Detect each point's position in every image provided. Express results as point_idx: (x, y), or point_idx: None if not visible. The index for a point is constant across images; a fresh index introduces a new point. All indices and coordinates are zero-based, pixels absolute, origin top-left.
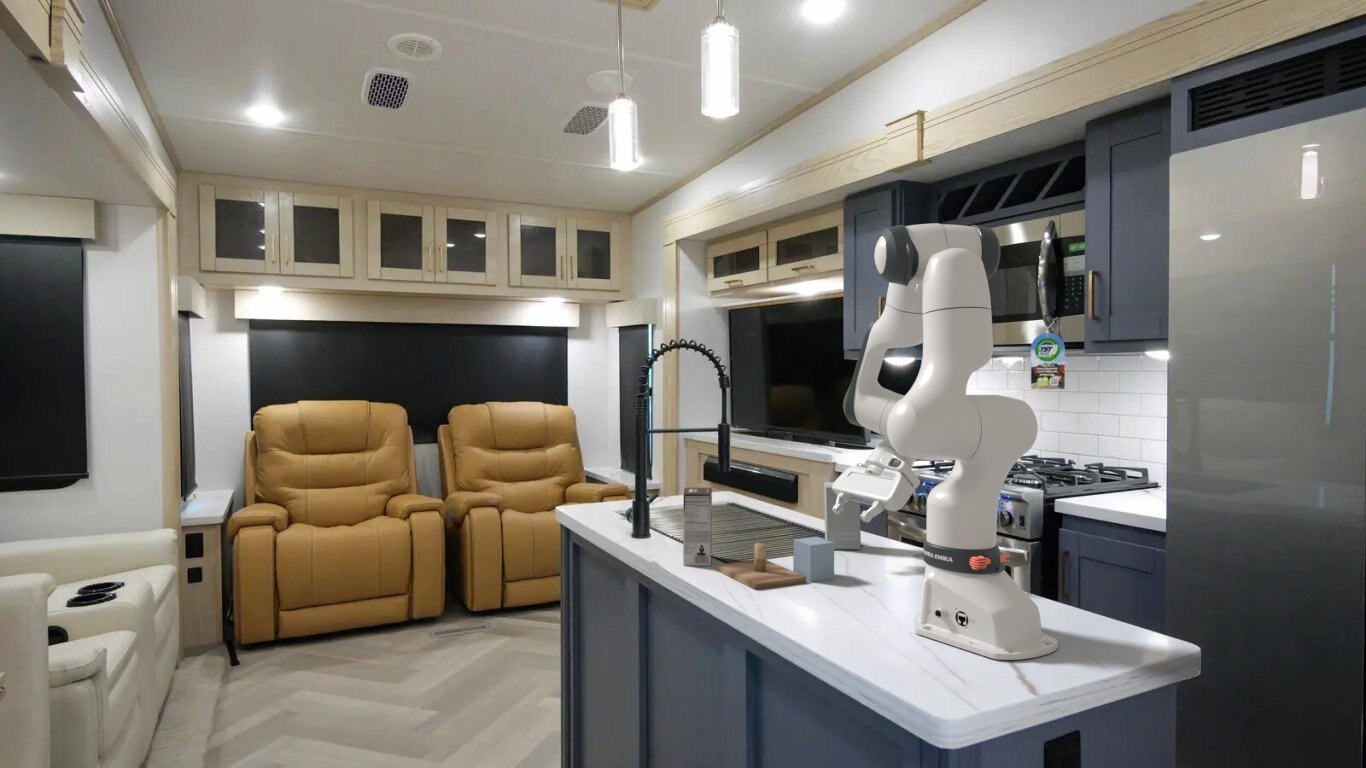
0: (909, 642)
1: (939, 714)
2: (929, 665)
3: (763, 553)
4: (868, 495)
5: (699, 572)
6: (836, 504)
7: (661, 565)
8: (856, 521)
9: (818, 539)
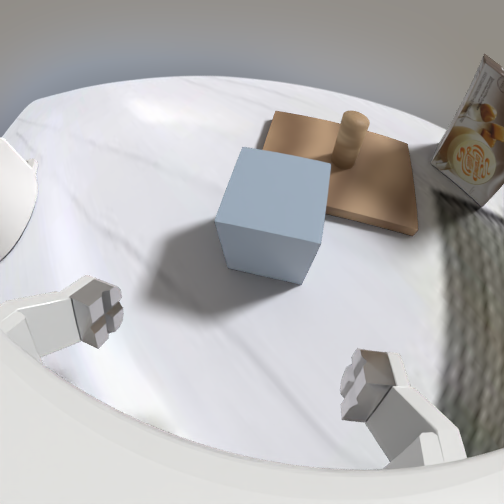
0: (42, 145)
1: (33, 102)
2: (31, 130)
3: (339, 129)
4: (17, 355)
5: (401, 131)
6: (395, 376)
7: (446, 130)
8: None
9: (284, 215)
